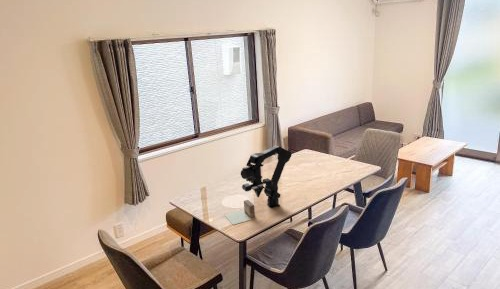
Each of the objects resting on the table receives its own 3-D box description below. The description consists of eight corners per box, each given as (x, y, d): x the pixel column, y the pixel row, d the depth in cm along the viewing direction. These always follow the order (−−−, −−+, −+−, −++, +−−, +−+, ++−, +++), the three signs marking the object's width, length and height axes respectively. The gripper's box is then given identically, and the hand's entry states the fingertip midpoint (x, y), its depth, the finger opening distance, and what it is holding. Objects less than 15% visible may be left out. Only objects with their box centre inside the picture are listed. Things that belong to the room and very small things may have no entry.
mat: (241, 210, 236) (241, 210, 235) (251, 219, 223) (250, 219, 223) (224, 215, 231) (224, 215, 231) (233, 225, 219) (233, 224, 219)
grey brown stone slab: (248, 210, 235) (247, 199, 233) (255, 216, 227) (254, 205, 225) (244, 212, 234) (243, 200, 231) (250, 217, 226) (249, 206, 224)
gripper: (263, 167, 236) (265, 189, 241) (237, 173, 229) (239, 196, 233) (272, 172, 227) (273, 195, 231) (245, 179, 219) (246, 202, 224)
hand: (258, 197), depth 230 cm, fingers closed
